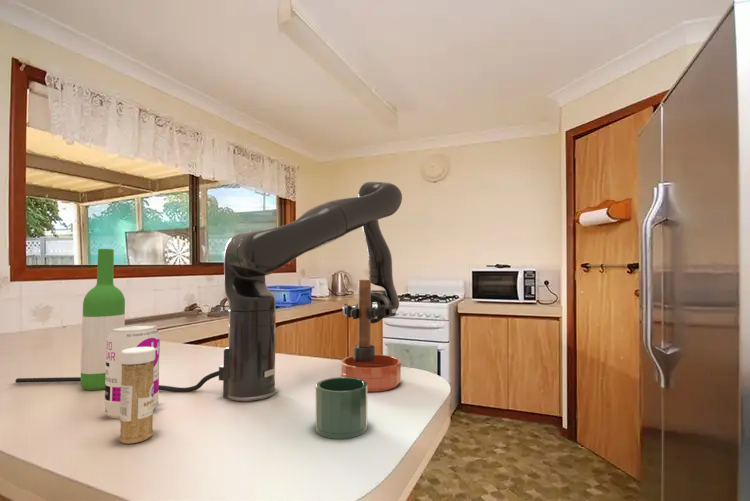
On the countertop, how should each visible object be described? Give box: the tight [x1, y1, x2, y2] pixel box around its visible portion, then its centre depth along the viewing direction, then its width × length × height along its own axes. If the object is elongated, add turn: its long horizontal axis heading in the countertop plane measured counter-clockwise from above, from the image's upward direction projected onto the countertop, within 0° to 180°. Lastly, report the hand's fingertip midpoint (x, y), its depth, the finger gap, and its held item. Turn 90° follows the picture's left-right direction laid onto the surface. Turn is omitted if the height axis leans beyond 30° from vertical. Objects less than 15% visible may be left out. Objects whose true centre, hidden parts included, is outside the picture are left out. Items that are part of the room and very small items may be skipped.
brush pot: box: [315, 376, 368, 440], centre depth 64 cm, size 8×8×7 cm
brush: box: [353, 279, 376, 362], centre depth 89 cm, size 5×5×18 cm
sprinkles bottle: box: [118, 347, 155, 445], centre depth 60 cm, size 5×5×13 cm
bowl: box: [340, 353, 402, 393], centre depth 88 cm, size 13×13×5 cm
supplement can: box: [104, 324, 161, 420], centre depth 71 cm, size 8×8×15 cm
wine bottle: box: [80, 248, 126, 391], centre depth 87 cm, size 8×8×30 cm
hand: (362, 314), depth 87 cm, fingers closed on brush, 3 cm apart
